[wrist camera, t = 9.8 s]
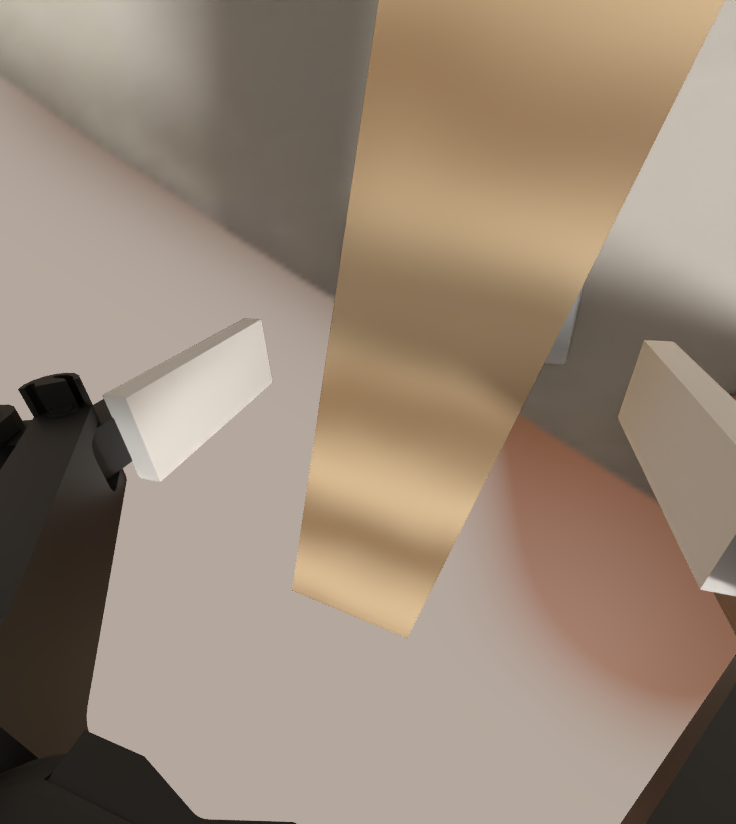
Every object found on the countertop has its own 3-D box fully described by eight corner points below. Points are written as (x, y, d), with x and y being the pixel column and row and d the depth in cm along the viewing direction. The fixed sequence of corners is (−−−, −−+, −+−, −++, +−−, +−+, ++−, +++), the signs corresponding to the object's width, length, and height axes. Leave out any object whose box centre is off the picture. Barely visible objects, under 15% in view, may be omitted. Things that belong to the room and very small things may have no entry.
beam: (455, -67, 11) (419, -278, 6) (677, -36, 10) (849, -251, 5) (335, 507, 24) (292, 590, 19) (427, 541, 23) (407, 638, 18)
